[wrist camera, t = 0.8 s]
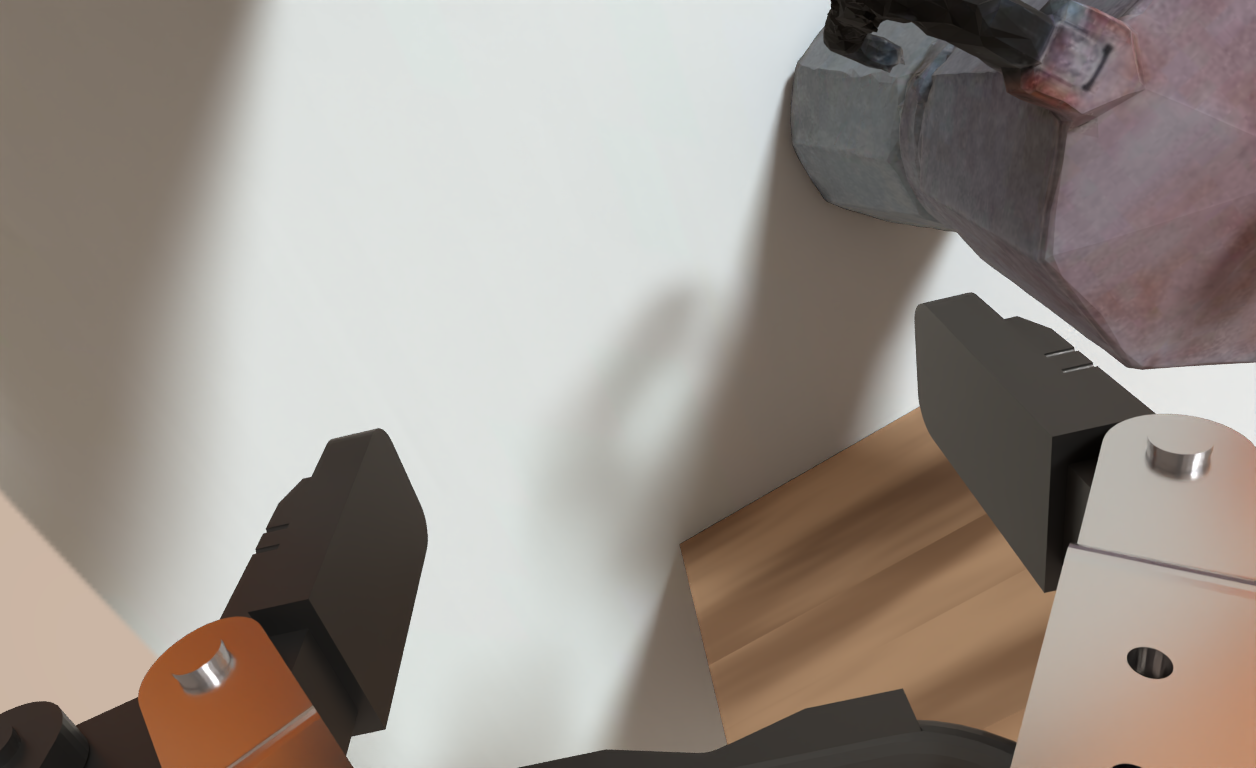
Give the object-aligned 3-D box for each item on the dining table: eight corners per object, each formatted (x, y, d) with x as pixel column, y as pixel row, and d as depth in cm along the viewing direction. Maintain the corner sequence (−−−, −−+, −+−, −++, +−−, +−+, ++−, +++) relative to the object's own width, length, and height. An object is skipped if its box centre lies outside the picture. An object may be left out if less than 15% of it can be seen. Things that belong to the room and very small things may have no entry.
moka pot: (1005, 273, 34) (1529, 506, 16) (665, 171, 32) (803, 304, 13) (1112, 41, 31) (1925, -13, 12) (744, -92, 29) (1073, -411, 10)
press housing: (679, 544, 38) (752, 846, 23) (1024, 346, 35) (1356, 539, 21) (786, 693, 42) (908, 1037, 27) (1105, 523, 39) (1435, 796, 24)
